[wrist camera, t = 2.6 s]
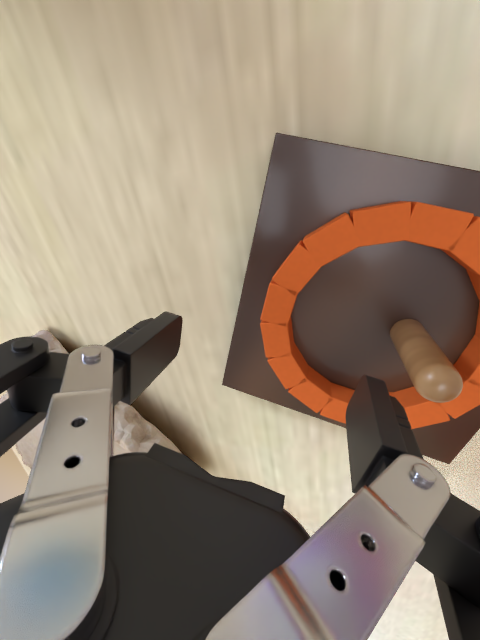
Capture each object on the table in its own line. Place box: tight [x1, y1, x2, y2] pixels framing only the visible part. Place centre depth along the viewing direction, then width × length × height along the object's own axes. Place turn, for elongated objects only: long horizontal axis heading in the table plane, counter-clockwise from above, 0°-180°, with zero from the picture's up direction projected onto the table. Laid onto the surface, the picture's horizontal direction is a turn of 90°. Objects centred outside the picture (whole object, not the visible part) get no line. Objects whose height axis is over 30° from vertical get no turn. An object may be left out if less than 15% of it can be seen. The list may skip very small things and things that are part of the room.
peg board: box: [222, 133, 480, 464], centre depth 16 cm, size 19×19×8 cm
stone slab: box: [0, 330, 182, 469], centre depth 30 cm, size 24×8×20 cm
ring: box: [260, 201, 480, 429], centre depth 18 cm, size 15×15×2 cm
